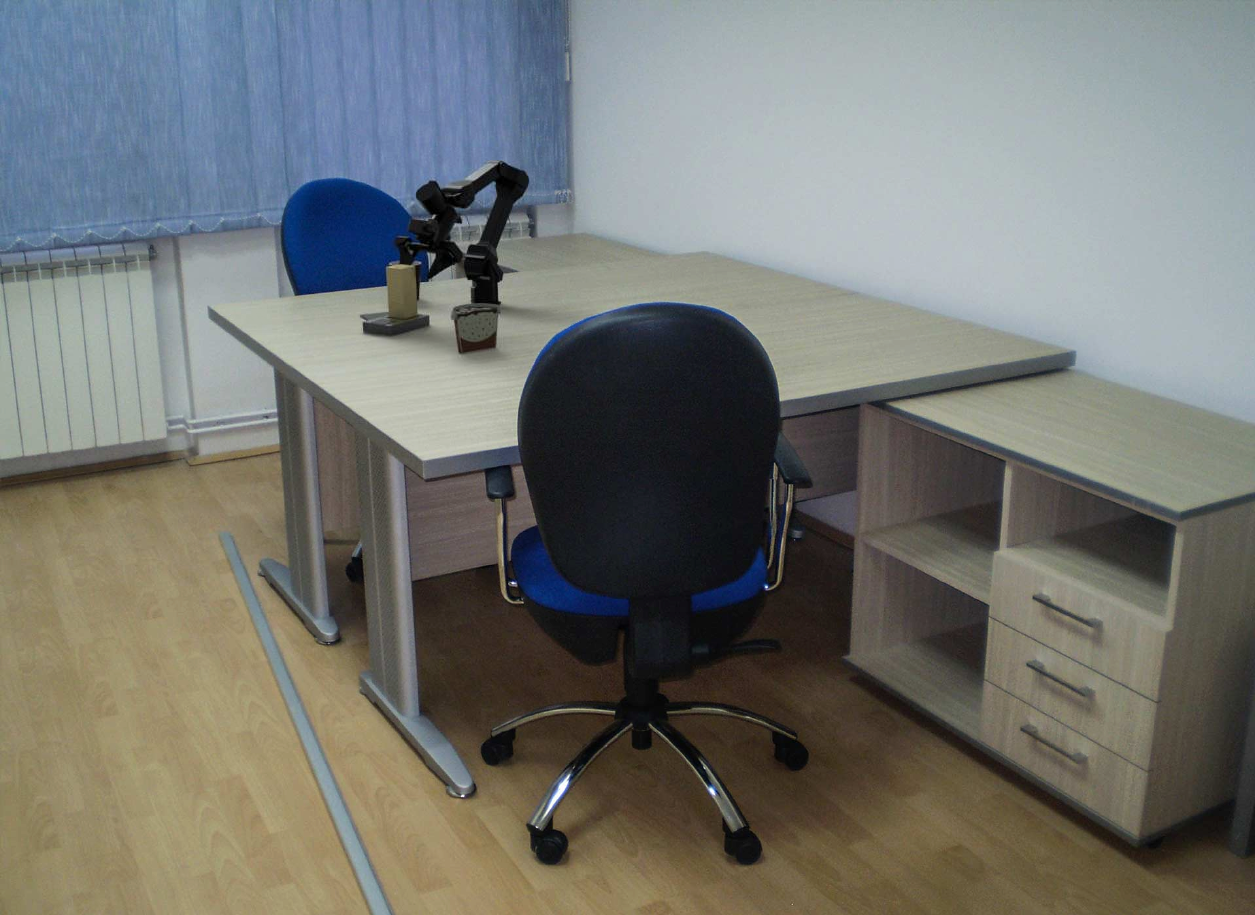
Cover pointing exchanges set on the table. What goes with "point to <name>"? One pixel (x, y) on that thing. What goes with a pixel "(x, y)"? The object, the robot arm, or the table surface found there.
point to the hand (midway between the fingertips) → (413, 276)
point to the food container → (475, 326)
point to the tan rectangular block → (402, 292)
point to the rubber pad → (373, 315)
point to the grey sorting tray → (394, 325)
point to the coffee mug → (417, 271)
